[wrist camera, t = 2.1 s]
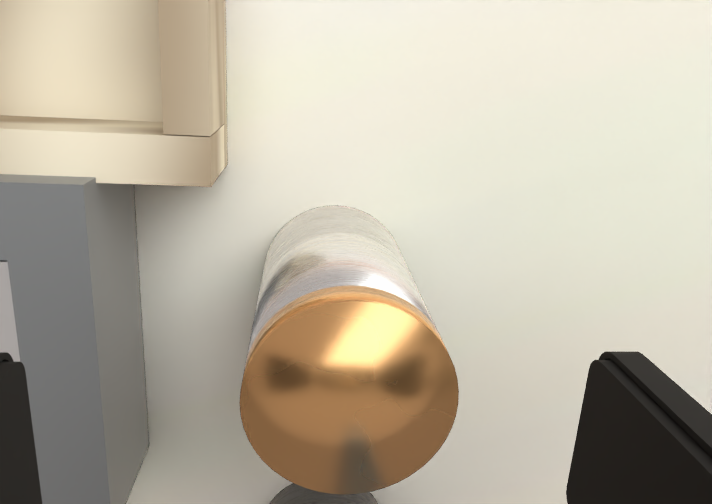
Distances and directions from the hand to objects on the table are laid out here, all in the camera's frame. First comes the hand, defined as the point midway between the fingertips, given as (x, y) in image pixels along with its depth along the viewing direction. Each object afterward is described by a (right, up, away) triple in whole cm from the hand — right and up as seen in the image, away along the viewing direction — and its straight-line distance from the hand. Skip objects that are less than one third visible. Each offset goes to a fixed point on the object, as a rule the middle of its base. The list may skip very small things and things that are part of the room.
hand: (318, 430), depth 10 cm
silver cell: (0, +2, +8) cm, 8 cm away
